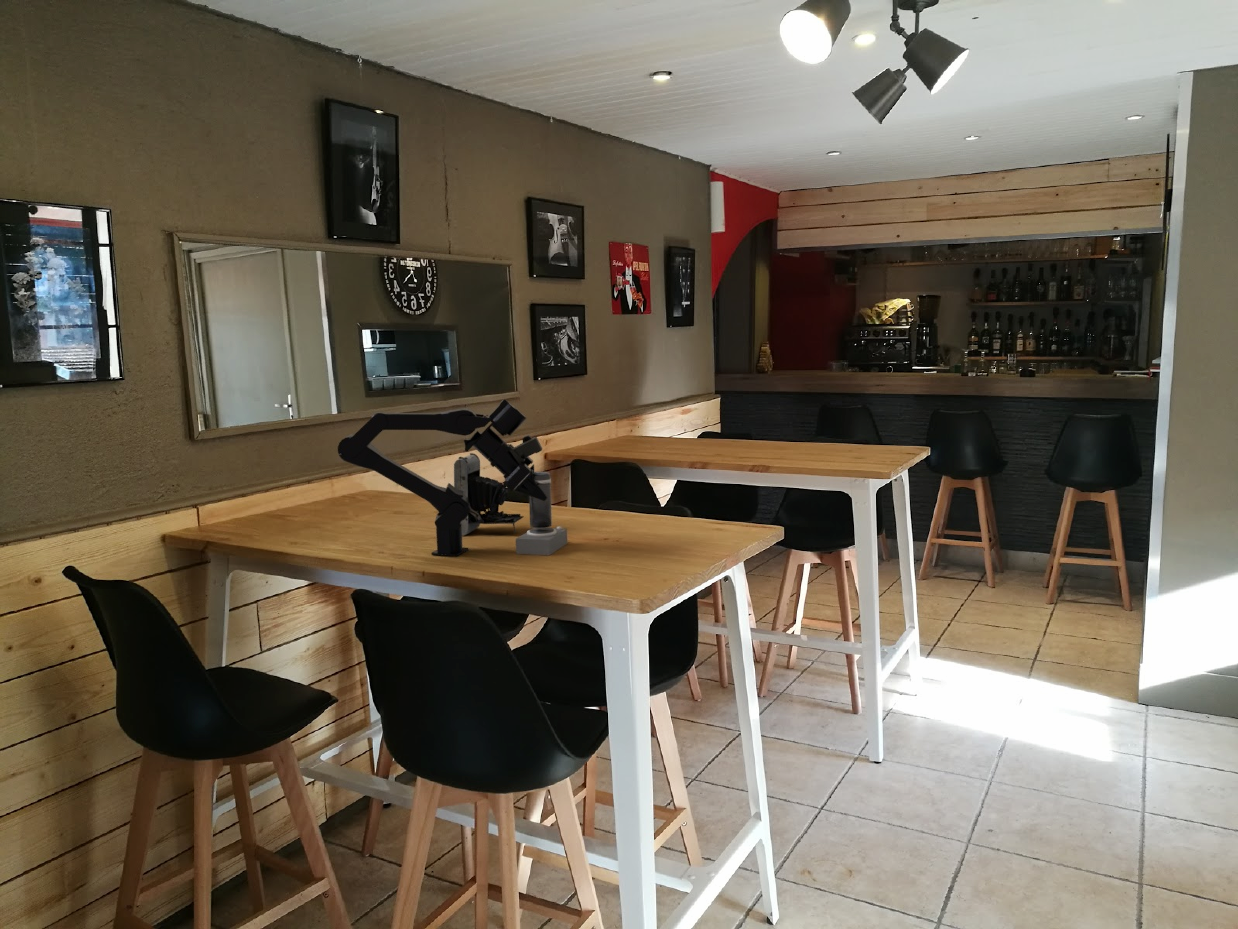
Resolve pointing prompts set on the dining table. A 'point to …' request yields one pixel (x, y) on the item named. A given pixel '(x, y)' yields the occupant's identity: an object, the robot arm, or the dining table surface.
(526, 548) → the grey rectangular block
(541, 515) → the dark grey cylinder
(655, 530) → the dining table surface
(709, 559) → the dining table surface
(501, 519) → the vintage camera
